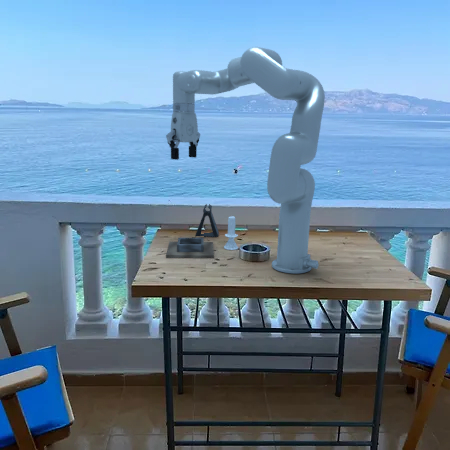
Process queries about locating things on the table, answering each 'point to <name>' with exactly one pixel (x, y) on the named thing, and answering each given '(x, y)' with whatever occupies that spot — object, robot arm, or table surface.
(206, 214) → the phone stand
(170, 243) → the keeper board
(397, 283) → the table surface
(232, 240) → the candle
